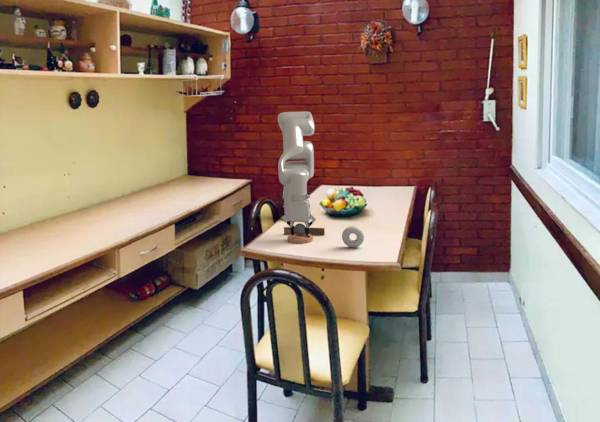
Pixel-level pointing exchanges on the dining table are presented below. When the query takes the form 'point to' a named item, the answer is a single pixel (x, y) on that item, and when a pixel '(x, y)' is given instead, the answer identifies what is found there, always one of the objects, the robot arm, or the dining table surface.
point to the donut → (357, 232)
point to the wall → (311, 231)
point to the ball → (299, 229)
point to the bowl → (300, 239)
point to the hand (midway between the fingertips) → (300, 234)
